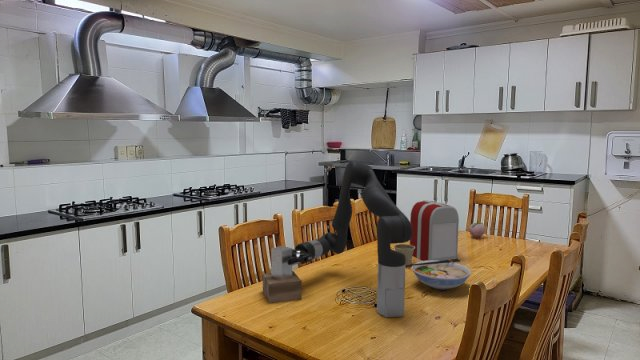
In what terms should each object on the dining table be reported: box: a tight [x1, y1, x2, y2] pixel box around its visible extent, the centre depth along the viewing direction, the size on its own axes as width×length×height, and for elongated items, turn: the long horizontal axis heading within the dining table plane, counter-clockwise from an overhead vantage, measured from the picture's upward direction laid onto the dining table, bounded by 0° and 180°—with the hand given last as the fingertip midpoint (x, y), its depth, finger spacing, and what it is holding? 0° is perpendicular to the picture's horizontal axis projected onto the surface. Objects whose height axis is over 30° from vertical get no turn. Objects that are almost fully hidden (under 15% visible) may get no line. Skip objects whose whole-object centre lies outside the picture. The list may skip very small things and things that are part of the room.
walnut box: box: [262, 270, 303, 304], centre depth 165 cm, size 12×12×7 cm
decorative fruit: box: [468, 220, 486, 239], centre depth 253 cm, size 9×8×10 cm
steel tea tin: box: [270, 245, 293, 280], centre depth 164 cm, size 5×5×11 cm
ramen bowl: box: [405, 258, 472, 291], centre depth 175 cm, size 25×23×8 cm
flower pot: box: [393, 243, 415, 267], centre depth 202 cm, size 9×9×9 cm
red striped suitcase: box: [409, 199, 460, 261], centre depth 214 cm, size 16×18×27 cm
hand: (280, 260), depth 163 cm, fingers open, 8 cm apart
